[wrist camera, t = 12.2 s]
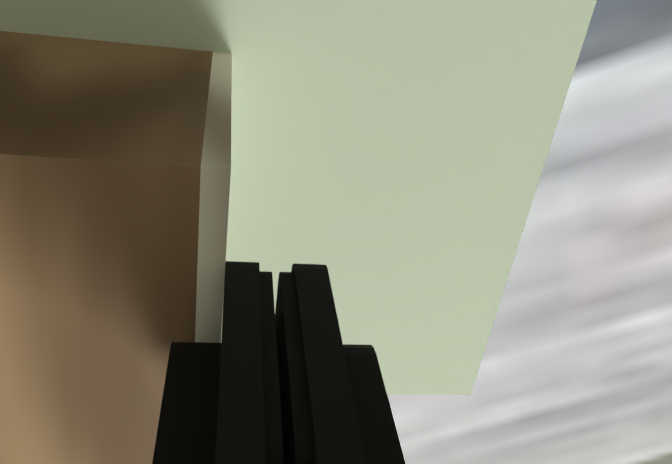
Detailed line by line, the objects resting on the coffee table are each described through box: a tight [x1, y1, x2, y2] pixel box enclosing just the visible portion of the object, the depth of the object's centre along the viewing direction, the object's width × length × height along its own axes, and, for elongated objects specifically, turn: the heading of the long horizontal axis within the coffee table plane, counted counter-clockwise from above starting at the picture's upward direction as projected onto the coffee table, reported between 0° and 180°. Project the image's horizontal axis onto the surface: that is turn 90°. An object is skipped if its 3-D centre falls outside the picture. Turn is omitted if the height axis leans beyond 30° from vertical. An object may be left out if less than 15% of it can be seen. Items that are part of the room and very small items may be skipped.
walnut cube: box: [0, 31, 232, 464], centre depth 12 cm, size 6×6×6 cm
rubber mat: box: [0, 0, 597, 395], centre depth 15 cm, size 23×14×1 cm, turn 82°
